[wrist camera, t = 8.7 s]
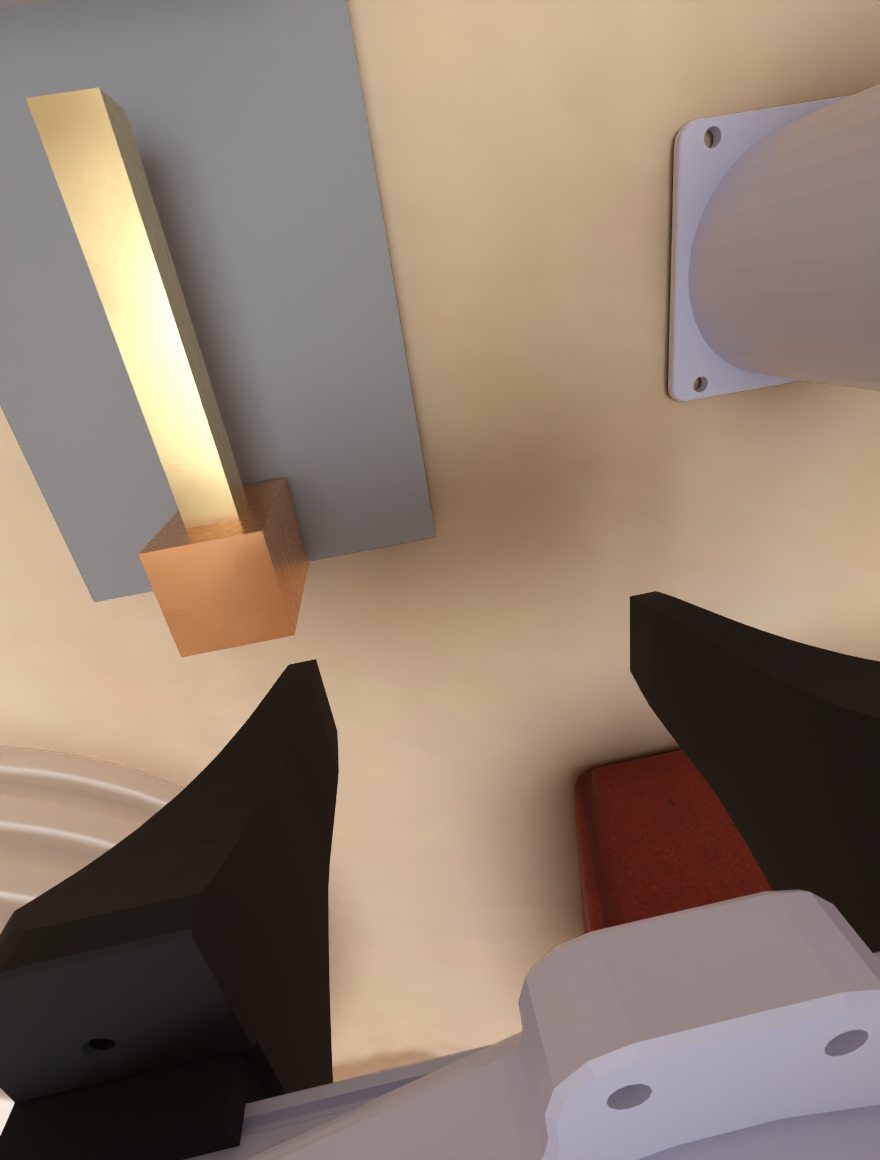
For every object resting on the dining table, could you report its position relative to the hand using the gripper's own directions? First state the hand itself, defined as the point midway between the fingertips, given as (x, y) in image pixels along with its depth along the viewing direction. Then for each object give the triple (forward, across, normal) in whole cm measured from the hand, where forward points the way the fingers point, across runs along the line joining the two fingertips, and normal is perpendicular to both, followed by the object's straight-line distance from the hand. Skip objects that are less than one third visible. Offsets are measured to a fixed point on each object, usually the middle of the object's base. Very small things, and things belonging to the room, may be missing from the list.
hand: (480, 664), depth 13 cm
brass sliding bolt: (+8, +6, -6) cm, 12 cm away
